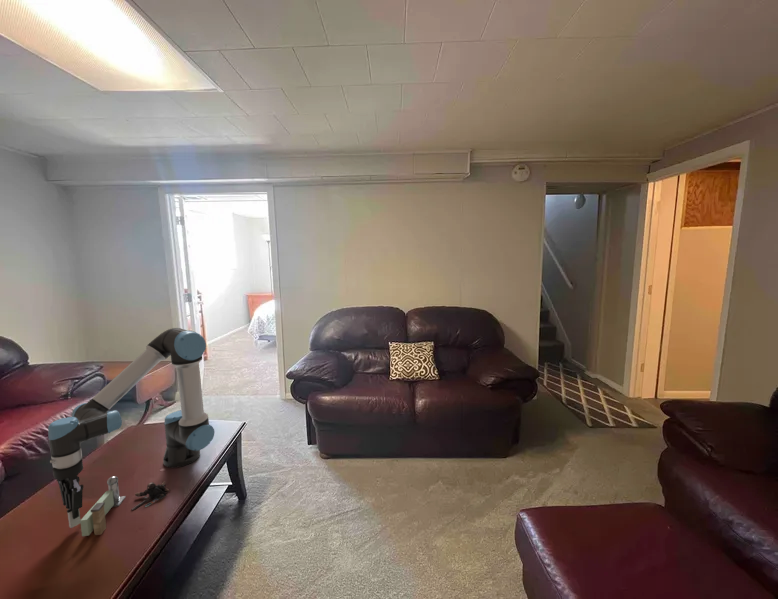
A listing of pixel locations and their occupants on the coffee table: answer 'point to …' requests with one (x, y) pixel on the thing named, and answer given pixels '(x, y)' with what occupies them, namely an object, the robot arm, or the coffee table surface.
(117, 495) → the hinge post
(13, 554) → the coffee table surface
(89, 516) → the gate
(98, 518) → the block
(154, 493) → the stuffed animal
